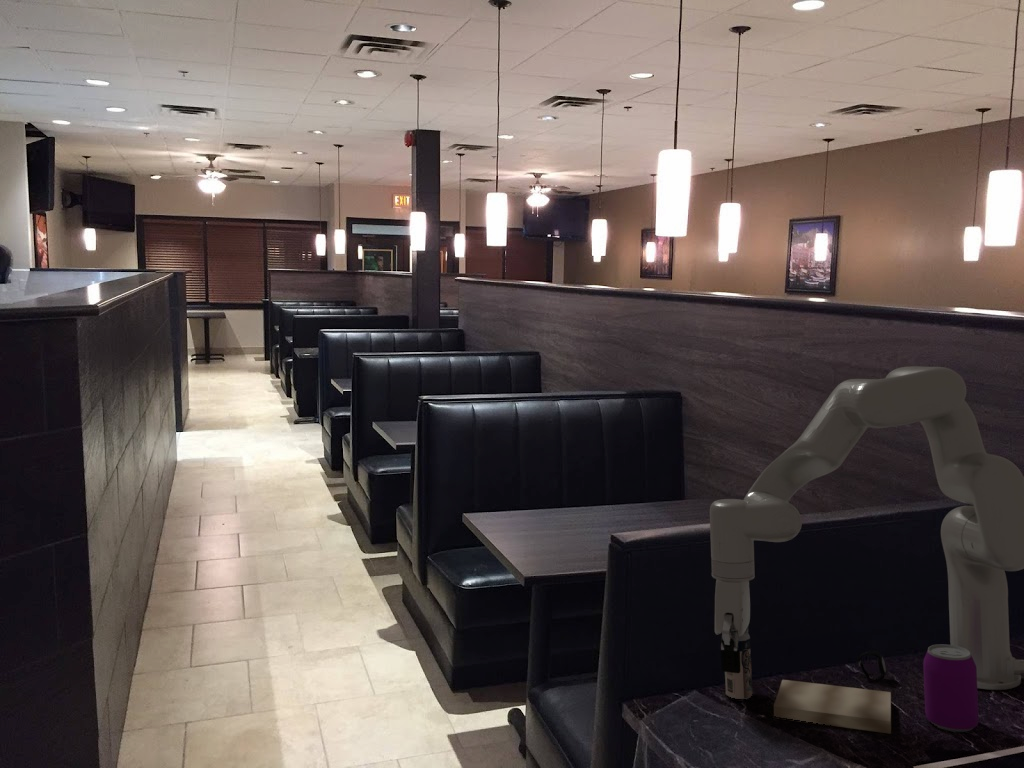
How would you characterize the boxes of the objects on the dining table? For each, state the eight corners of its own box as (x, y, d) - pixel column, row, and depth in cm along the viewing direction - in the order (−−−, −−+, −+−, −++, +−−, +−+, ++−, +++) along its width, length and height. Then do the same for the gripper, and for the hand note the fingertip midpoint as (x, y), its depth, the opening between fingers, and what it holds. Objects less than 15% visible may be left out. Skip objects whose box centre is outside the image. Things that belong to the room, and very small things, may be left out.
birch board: (891, 703, 140) (890, 692, 140) (891, 733, 129) (890, 721, 129) (782, 690, 148) (782, 679, 148) (774, 717, 137) (773, 706, 137)
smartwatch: (881, 685, 148) (880, 658, 148) (854, 677, 152) (853, 651, 152) (892, 678, 150) (891, 652, 150) (866, 671, 154) (864, 645, 154)
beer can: (754, 702, 143) (751, 635, 143) (726, 701, 144) (723, 635, 144) (751, 691, 148) (748, 626, 148) (724, 690, 149) (721, 626, 149)
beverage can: (928, 731, 129) (925, 657, 129) (923, 711, 136) (920, 641, 136) (982, 737, 126) (979, 661, 126) (974, 716, 134) (972, 644, 133)
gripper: (721, 555, 155) (723, 644, 155) (701, 579, 139) (705, 676, 140) (761, 558, 152) (764, 648, 152) (746, 582, 136) (749, 682, 136)
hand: (735, 662), depth 146 cm, fingers open, 9 cm apart
